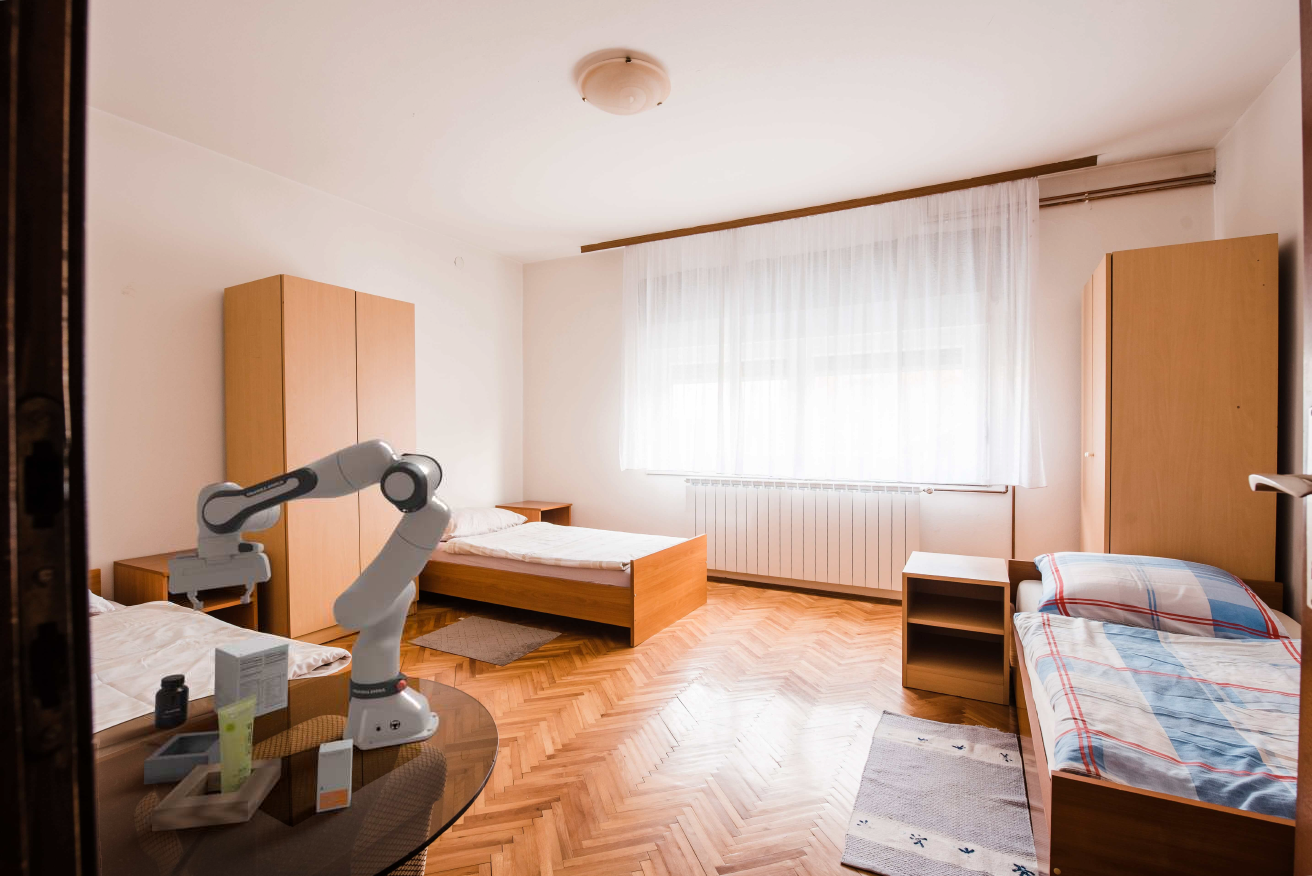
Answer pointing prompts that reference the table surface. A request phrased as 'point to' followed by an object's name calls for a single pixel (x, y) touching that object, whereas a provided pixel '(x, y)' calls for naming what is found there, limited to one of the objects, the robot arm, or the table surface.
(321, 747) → the skincare box
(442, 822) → the table surface
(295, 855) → the table surface
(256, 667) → the supplement box
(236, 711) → the tube
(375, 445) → the robot arm
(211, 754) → the graphite collar stand
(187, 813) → the walnut socket block
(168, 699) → the supplement bottle
